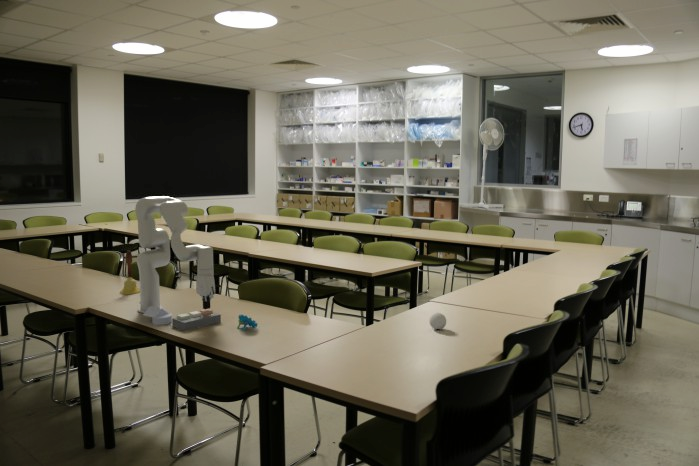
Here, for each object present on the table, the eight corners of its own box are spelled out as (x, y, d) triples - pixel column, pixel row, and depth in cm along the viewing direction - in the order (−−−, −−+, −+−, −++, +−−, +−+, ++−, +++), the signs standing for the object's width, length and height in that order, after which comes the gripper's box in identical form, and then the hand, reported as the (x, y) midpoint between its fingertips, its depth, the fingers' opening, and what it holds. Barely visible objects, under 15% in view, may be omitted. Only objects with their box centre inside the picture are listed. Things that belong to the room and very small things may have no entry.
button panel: (172, 326, 258) (172, 317, 257) (208, 318, 272) (208, 310, 272) (184, 331, 251) (184, 322, 250) (220, 322, 265) (220, 314, 265)
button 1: (177, 321, 258) (176, 315, 257) (185, 319, 261) (185, 313, 260) (182, 323, 255) (181, 317, 254) (190, 321, 258) (190, 315, 258)
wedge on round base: (142, 321, 265) (161, 325, 259) (142, 308, 264) (160, 312, 258) (157, 317, 273) (175, 321, 267) (157, 304, 272) (175, 308, 266)
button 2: (188, 318, 262) (188, 312, 262) (196, 316, 265) (196, 311, 265) (193, 320, 259) (193, 314, 259) (201, 318, 262) (201, 312, 262)
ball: (425, 329, 258) (426, 313, 257) (435, 325, 264) (435, 309, 263) (440, 333, 253) (440, 316, 252) (449, 329, 259) (450, 313, 258)
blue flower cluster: (262, 325, 255) (248, 313, 250) (256, 336, 252) (242, 324, 247) (247, 324, 263) (234, 312, 257) (241, 334, 260) (227, 323, 254)
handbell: (114, 293, 321) (113, 252, 318) (126, 289, 333) (125, 248, 330) (134, 294, 319) (132, 252, 316) (145, 290, 331) (144, 249, 328)
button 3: (199, 316, 267) (199, 310, 266) (207, 314, 270) (207, 308, 270) (205, 318, 264) (204, 312, 263) (212, 316, 267) (212, 310, 267)
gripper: (190, 270, 266) (191, 307, 269) (207, 274, 256) (208, 312, 259) (203, 268, 272) (204, 304, 274) (221, 272, 262) (222, 309, 264)
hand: (206, 308), depth 266 cm, fingers closed
